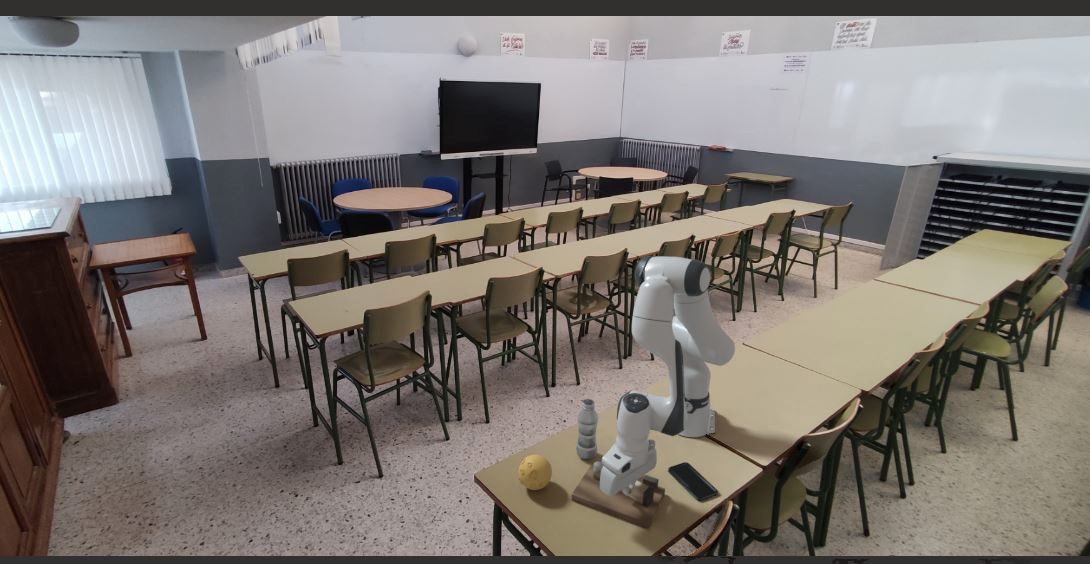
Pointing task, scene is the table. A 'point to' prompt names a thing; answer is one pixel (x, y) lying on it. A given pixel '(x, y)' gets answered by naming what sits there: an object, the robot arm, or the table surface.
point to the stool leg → (640, 490)
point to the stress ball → (534, 472)
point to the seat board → (618, 500)
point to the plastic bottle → (587, 430)
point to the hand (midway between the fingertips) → (627, 492)
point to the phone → (693, 481)
